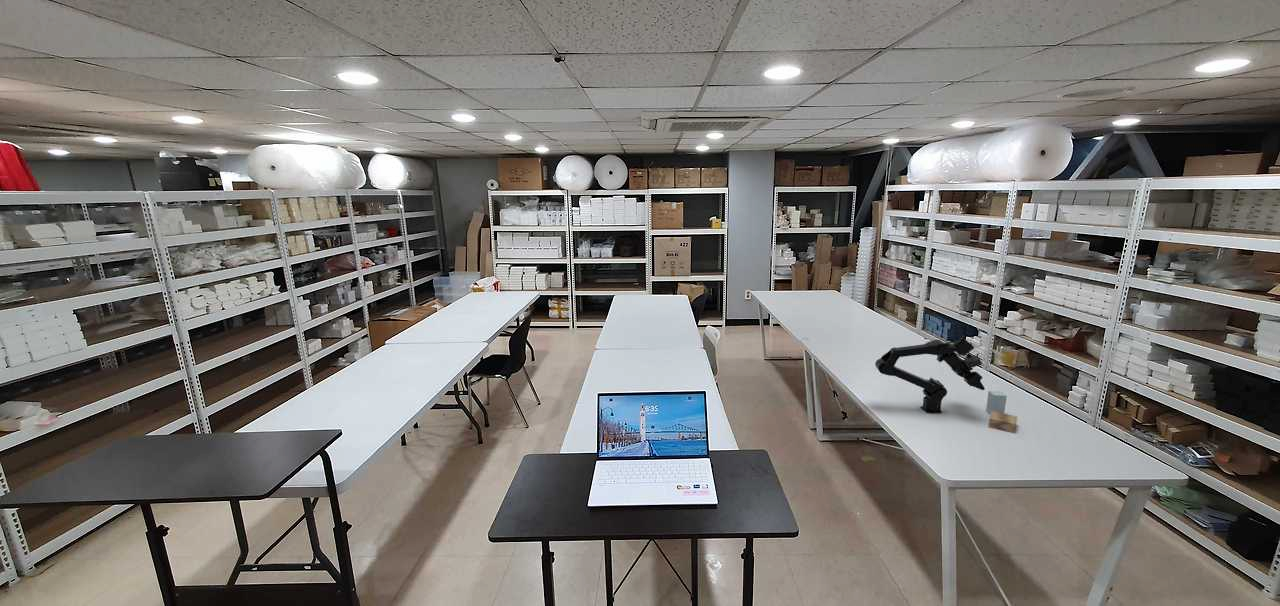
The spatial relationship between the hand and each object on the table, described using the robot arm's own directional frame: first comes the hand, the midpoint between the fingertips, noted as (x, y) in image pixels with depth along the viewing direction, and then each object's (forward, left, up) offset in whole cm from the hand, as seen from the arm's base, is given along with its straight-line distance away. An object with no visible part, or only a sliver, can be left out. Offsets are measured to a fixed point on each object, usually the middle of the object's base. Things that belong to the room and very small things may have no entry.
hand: (979, 385), depth 215 cm
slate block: (+8, -1, -13) cm, 15 cm away
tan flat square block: (+3, -13, -13) cm, 19 cm away
